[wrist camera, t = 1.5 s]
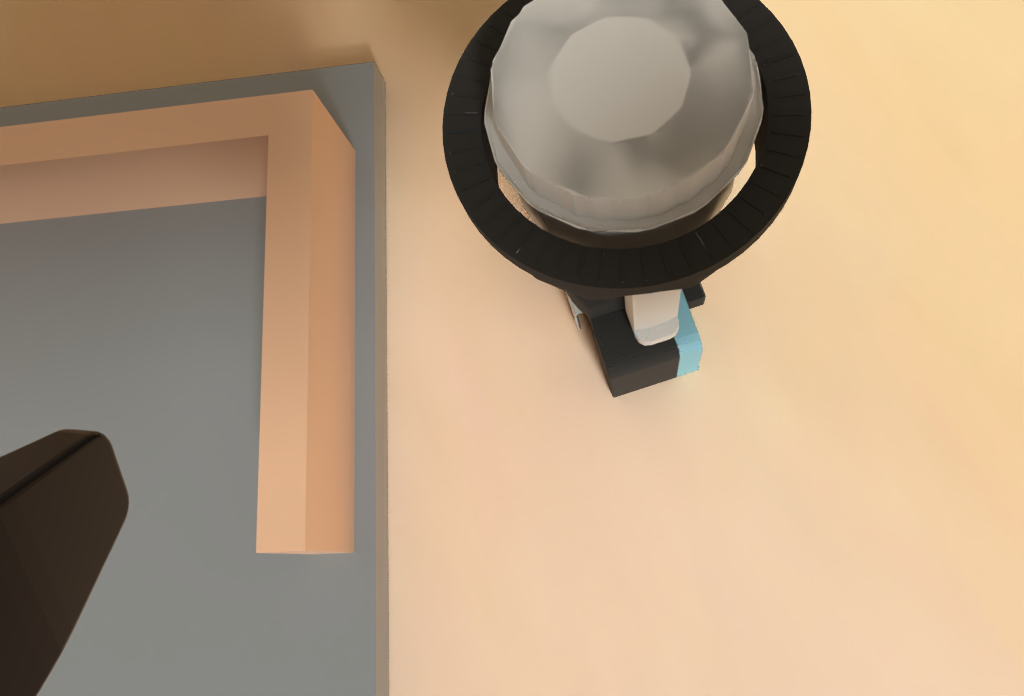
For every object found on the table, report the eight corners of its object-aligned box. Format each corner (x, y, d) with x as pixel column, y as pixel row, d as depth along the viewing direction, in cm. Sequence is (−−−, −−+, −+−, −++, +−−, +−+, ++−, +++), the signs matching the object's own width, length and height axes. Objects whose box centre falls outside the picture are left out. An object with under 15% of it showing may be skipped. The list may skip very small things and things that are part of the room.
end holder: (389, 709, 20) (328, 744, 16) (-156, 721, 22) (-329, 755, 18) (385, 81, 24) (334, -11, 20) (-77, 137, 26) (-204, 61, 22)
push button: (483, 189, 23) (363, -87, 13) (680, 120, 22) (706, -215, 13) (560, 431, 21) (487, 320, 11) (775, 362, 20) (891, 184, 11)
